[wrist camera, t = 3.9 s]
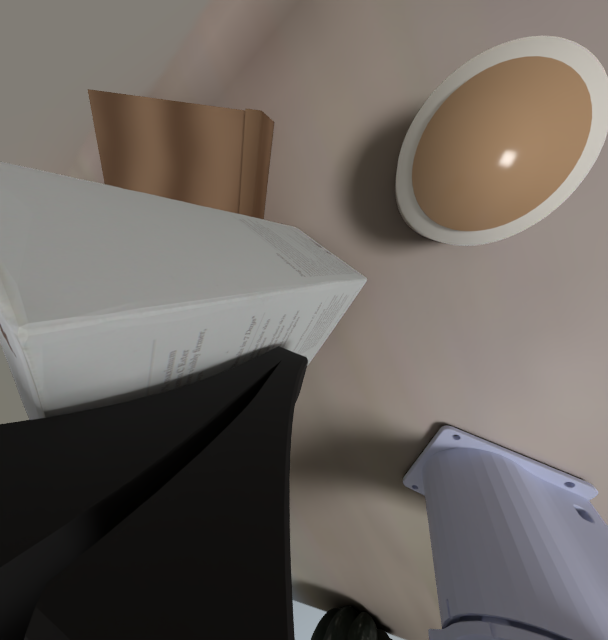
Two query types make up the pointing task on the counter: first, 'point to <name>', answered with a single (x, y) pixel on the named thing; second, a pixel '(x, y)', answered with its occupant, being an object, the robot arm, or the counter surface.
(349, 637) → the squash
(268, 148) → the cutting board
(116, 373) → the small box
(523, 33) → the counter surface
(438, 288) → the counter surface
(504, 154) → the ramekin
